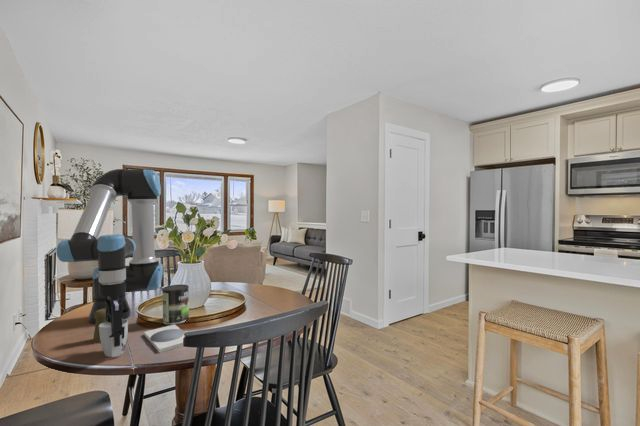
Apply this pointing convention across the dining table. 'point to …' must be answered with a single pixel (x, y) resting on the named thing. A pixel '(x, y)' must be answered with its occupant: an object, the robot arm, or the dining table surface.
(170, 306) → the coffee can
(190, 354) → the dining table surface
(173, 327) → the board
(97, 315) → the olive peg figure
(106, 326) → the cup
